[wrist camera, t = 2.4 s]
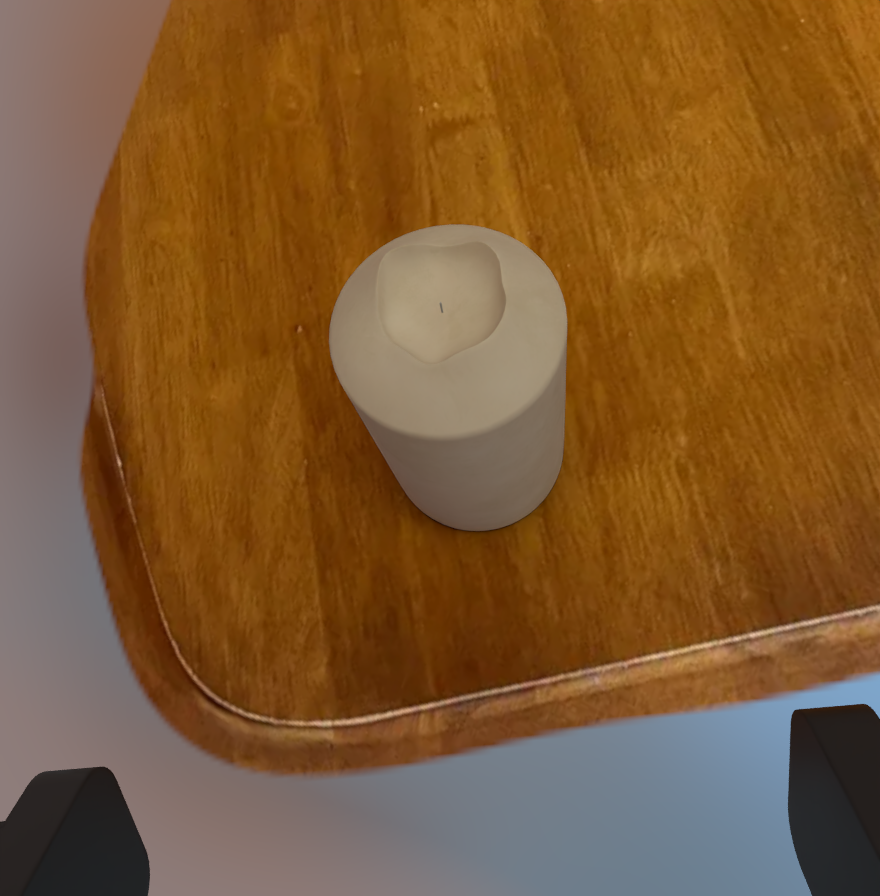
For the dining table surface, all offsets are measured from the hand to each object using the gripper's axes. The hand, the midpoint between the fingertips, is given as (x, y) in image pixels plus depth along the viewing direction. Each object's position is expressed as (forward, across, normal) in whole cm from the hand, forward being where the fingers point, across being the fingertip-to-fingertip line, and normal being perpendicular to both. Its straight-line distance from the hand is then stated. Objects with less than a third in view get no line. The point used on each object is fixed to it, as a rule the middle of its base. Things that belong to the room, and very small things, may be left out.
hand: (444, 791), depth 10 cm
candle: (+17, 0, +4) cm, 18 cm away
